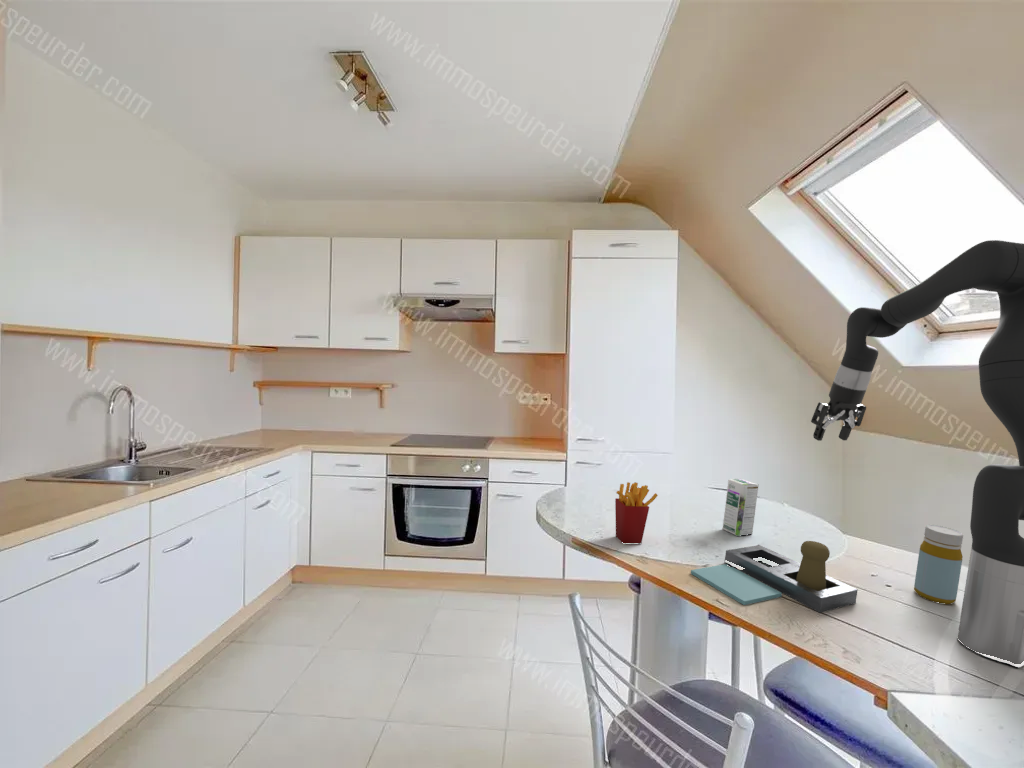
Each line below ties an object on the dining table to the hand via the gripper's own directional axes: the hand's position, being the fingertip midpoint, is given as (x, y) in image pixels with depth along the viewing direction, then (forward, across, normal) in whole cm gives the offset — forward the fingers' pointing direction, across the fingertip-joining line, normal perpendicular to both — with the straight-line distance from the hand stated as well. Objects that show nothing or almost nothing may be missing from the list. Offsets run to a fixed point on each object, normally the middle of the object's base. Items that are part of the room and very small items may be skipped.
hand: (829, 439), depth 138 cm
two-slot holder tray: (+20, -32, -28) cm, 47 cm away
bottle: (+19, -2, -38) cm, 42 cm away
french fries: (+26, -56, -3) cm, 62 cm away
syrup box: (+28, -22, -1) cm, 36 cm away
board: (+20, -45, -28) cm, 56 cm away
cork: (+19, -31, -33) cm, 49 cm away
